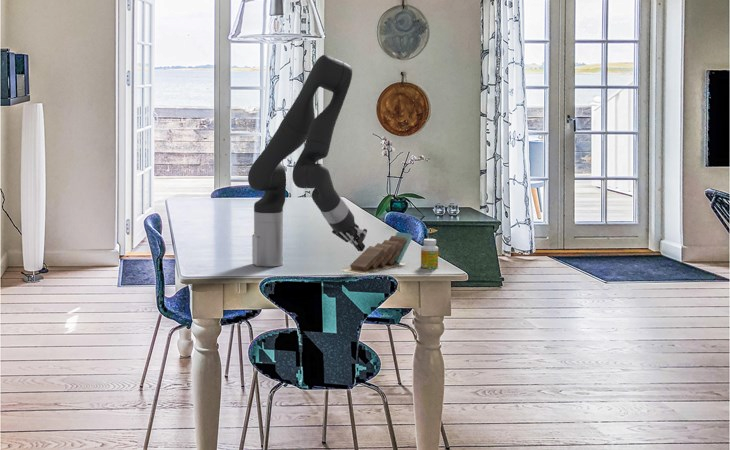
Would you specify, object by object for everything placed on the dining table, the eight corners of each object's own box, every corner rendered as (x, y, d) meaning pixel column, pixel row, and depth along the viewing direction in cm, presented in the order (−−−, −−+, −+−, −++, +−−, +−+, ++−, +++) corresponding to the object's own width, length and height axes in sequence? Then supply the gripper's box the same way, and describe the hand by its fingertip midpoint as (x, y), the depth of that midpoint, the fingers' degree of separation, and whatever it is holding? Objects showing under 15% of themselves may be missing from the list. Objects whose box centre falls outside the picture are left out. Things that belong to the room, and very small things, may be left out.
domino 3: (381, 263, 266) (398, 241, 273) (367, 261, 270) (384, 239, 276) (382, 267, 267) (400, 245, 274) (368, 265, 271) (386, 243, 277)
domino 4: (389, 262, 270) (405, 237, 276) (375, 260, 273) (391, 235, 279) (391, 265, 271) (407, 241, 276) (377, 263, 274) (393, 239, 280)
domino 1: (364, 267, 260) (383, 247, 267) (350, 265, 263) (369, 246, 270) (365, 271, 260) (385, 252, 267) (351, 269, 264) (371, 250, 271)
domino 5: (397, 261, 273) (410, 233, 278) (383, 259, 277) (397, 232, 281) (399, 264, 274) (412, 236, 279) (385, 262, 278) (399, 234, 282)
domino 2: (372, 265, 263) (391, 245, 270) (358, 263, 266) (377, 243, 273) (374, 269, 264) (392, 249, 271) (360, 267, 267) (379, 247, 274)
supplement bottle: (428, 272, 266) (429, 241, 264) (417, 269, 270) (417, 239, 269) (441, 270, 269) (442, 240, 268) (430, 267, 273) (430, 237, 272)
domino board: (361, 276, 256) (361, 274, 256) (338, 273, 262) (338, 270, 262) (407, 266, 275) (407, 263, 275) (385, 262, 280) (385, 260, 280)
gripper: (359, 205, 249) (384, 241, 260) (325, 201, 257) (350, 237, 268) (348, 225, 245) (373, 261, 257) (313, 220, 253) (339, 256, 265)
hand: (361, 249), depth 262 cm, fingers closed
